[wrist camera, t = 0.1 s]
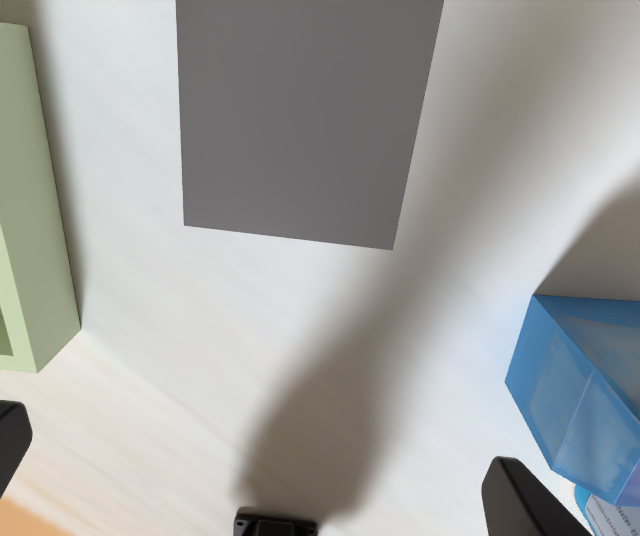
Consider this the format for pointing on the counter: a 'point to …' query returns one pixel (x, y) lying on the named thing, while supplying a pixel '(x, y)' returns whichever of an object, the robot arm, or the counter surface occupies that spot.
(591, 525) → the beverage bottle
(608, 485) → the perfume bottle
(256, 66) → the grey square pillar
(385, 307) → the counter surface
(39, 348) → the pale green tray
